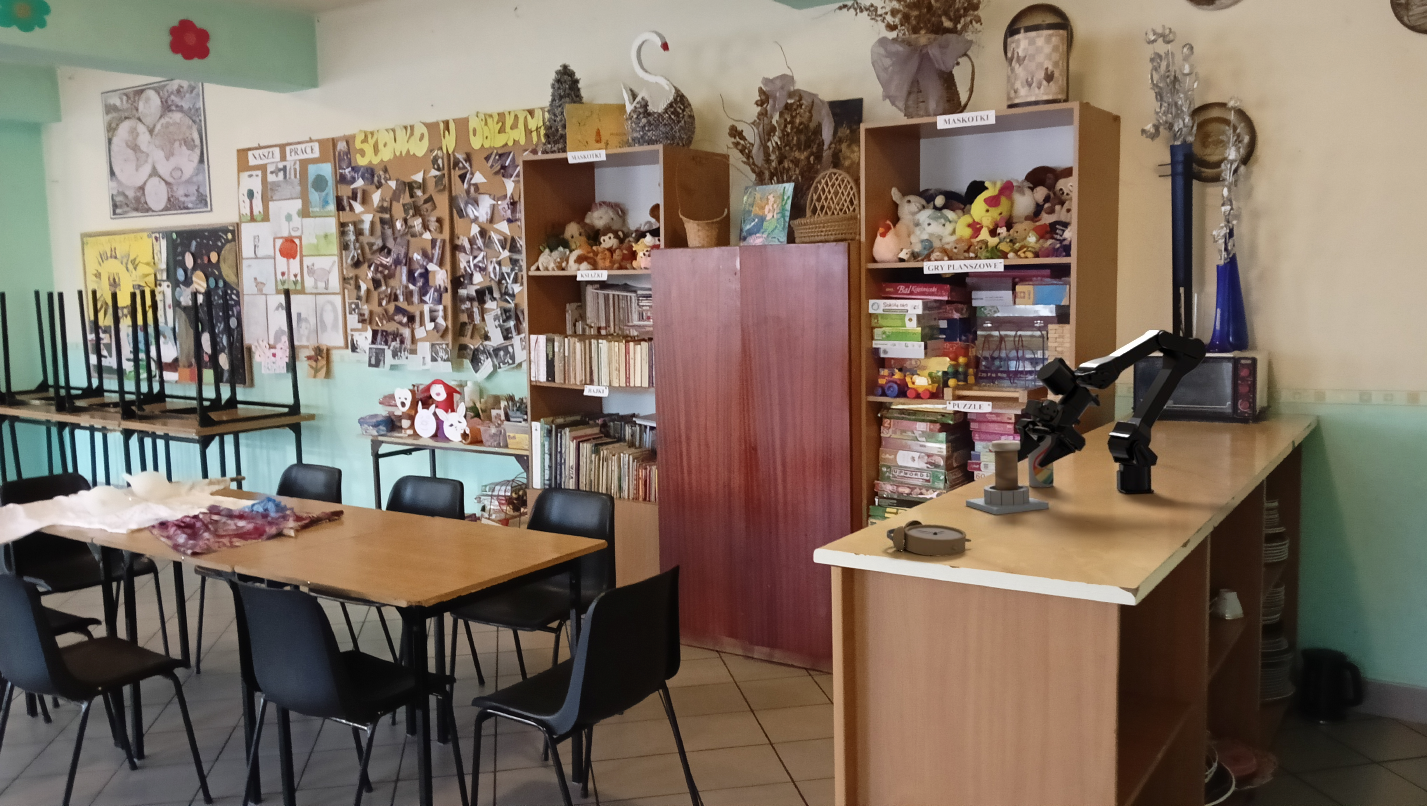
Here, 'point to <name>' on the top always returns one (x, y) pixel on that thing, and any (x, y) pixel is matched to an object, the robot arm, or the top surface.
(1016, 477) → the walnut peg
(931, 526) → the alarm clock
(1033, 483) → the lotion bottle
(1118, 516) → the top surface
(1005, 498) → the collar socket
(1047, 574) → the top surface
